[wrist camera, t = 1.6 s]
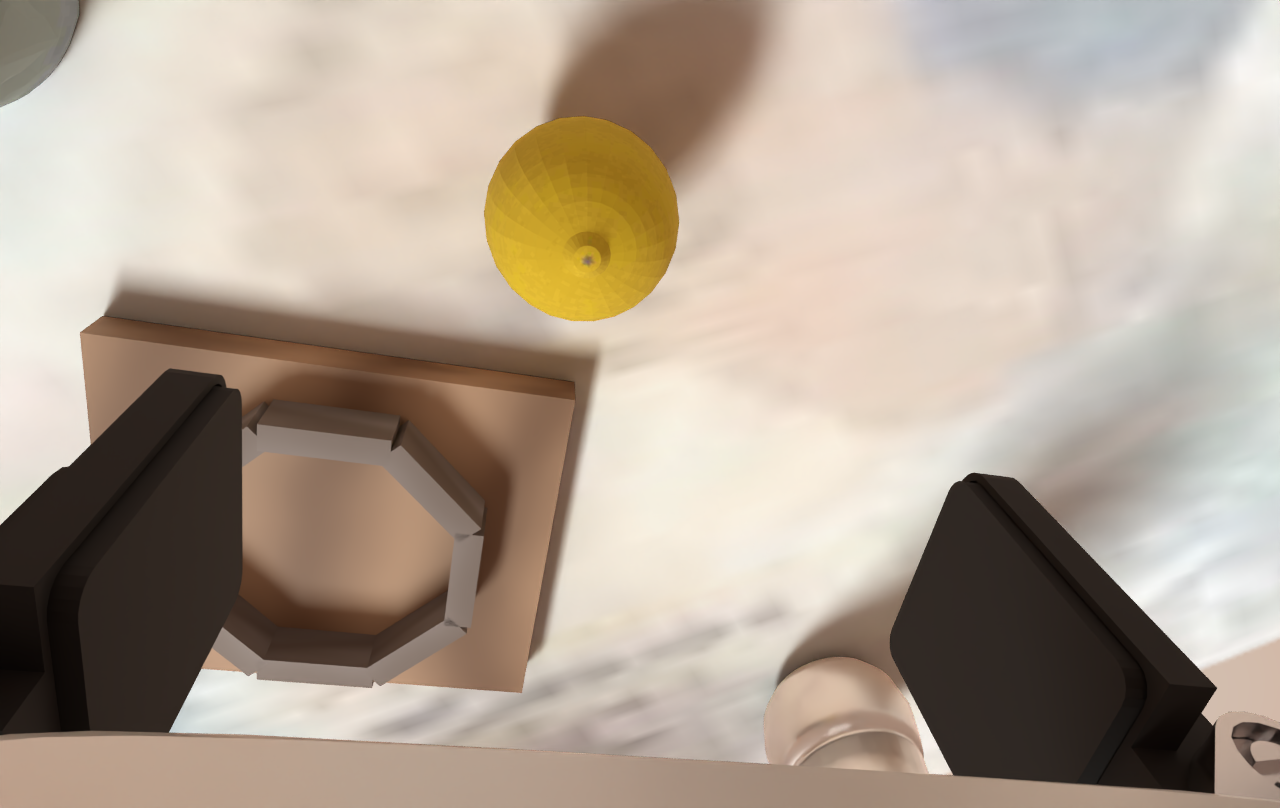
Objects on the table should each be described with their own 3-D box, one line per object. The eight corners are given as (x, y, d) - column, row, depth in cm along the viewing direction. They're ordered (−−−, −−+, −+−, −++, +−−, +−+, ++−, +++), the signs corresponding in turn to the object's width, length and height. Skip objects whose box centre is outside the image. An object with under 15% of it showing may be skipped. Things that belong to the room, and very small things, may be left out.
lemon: (481, 250, 28) (457, 341, 21) (509, 80, 26) (493, 118, 19) (639, 283, 29) (667, 380, 22) (680, 122, 27) (726, 172, 20)
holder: (574, 382, 31) (576, 424, 28) (522, 667, 37) (520, 726, 34) (102, 316, 28) (49, 354, 25) (129, 635, 34) (89, 696, 31)
